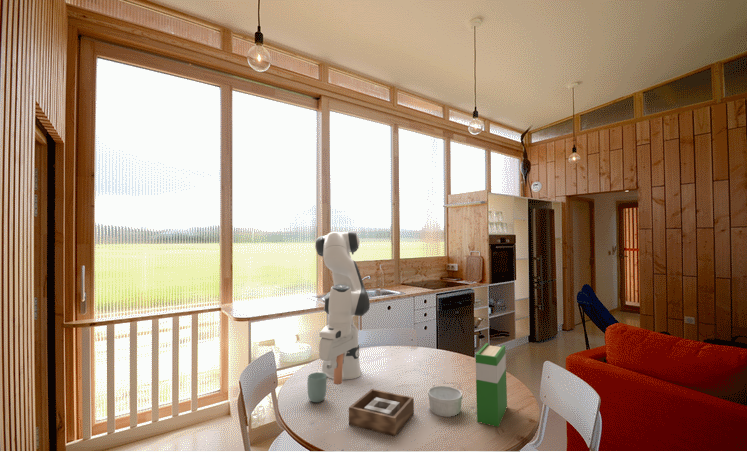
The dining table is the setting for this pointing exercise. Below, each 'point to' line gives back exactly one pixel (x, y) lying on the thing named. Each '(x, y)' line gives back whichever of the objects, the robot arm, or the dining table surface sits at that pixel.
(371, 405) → the box
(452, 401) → the ramekin
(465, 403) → the dining table surface
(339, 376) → the peg
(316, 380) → the cup
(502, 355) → the hardback book
